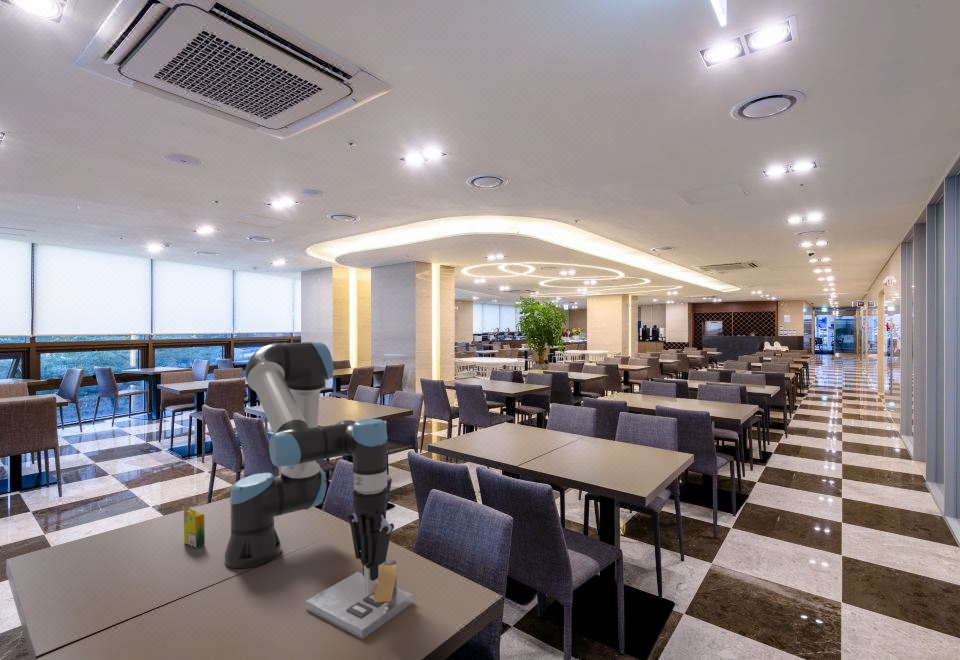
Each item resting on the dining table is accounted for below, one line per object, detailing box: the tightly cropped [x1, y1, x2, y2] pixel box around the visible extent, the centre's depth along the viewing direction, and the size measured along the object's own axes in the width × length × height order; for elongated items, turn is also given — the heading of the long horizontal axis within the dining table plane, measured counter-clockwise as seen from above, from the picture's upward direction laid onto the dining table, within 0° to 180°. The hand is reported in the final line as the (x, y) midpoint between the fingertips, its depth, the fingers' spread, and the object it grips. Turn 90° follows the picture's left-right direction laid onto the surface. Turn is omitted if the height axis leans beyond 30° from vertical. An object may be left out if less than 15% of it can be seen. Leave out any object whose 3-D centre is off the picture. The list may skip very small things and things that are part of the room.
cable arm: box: [374, 559, 398, 602], centre depth 108 cm, size 16×4×2 cm, turn 4°
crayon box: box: [183, 506, 206, 548], centre depth 146 cm, size 7×3×12 cm, turn 58°
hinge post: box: [393, 573, 398, 593], centre depth 114 cm, size 3×3×7 cm
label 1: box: [346, 602, 373, 618], centre depth 106 cm, size 5×4×1 cm
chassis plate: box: [304, 571, 414, 640], centre depth 111 cm, size 20×16×2 cm
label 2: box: [363, 592, 384, 607], centre depth 110 cm, size 5×4×1 cm
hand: (370, 592), depth 104 cm, fingers closed
